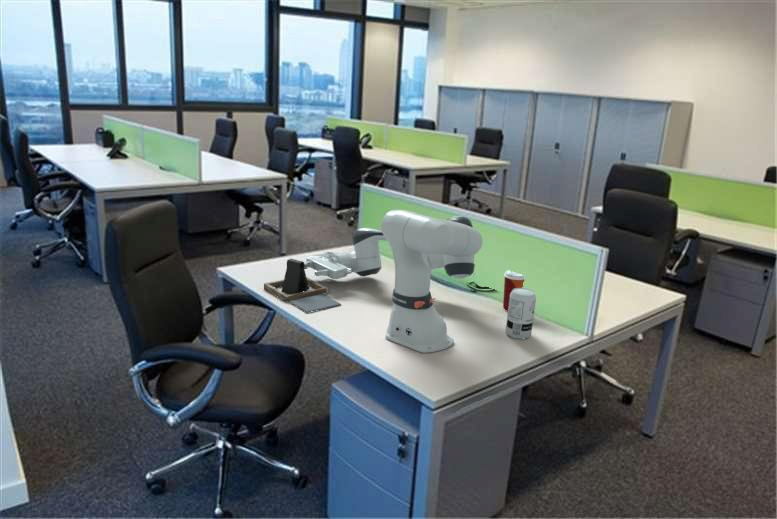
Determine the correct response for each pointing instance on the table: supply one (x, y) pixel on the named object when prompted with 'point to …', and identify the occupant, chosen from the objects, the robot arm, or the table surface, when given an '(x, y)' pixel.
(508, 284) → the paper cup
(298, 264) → the phone stand
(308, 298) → the charcoal mat
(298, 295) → the walnut frame
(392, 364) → the table surface
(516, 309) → the supplement can
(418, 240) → the robot arm
